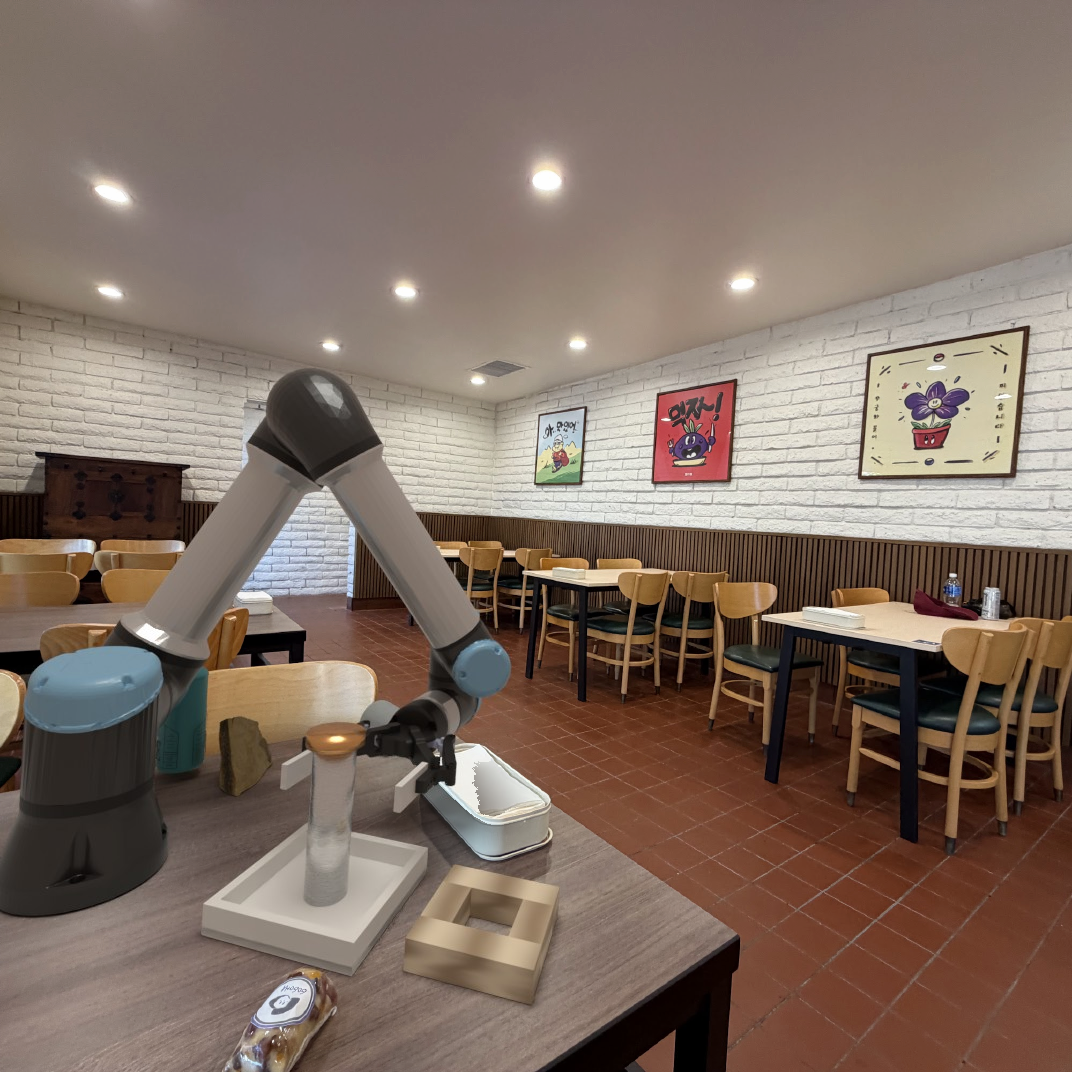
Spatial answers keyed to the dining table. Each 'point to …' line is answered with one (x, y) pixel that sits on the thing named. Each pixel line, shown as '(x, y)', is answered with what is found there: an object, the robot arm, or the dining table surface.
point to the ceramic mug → (379, 713)
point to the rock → (241, 754)
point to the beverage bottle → (185, 730)
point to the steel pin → (330, 810)
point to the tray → (307, 931)
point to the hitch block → (484, 933)
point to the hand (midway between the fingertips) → (338, 788)
